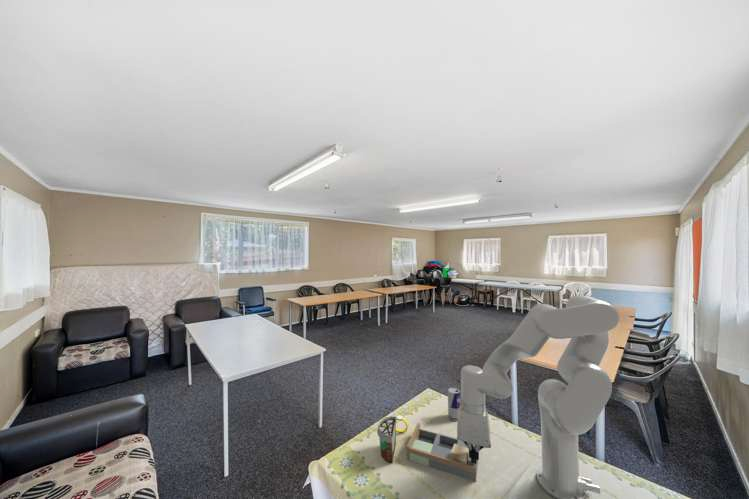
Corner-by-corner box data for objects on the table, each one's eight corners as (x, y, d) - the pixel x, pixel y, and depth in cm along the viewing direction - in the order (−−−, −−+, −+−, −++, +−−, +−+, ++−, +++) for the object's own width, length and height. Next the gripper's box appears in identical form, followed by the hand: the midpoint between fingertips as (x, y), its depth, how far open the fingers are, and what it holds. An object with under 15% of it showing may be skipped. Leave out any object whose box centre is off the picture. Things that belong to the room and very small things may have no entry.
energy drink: (461, 422, 114) (460, 394, 114) (448, 420, 115) (448, 392, 115) (460, 414, 119) (459, 387, 119) (447, 413, 120) (447, 386, 120)
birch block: (469, 457, 91) (469, 448, 91) (465, 467, 87) (465, 458, 87) (454, 451, 93) (454, 443, 94) (450, 461, 89) (450, 452, 89)
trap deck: (478, 451, 97) (478, 438, 97) (476, 481, 84) (475, 467, 84) (417, 434, 107) (417, 423, 107) (406, 459, 94) (406, 446, 94)
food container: (380, 439, 104) (380, 414, 104) (396, 441, 103) (395, 415, 103) (374, 464, 92) (374, 435, 92) (392, 466, 91) (391, 437, 91)
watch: (393, 433, 108) (391, 418, 108) (394, 428, 111) (393, 414, 111) (407, 434, 106) (406, 419, 107) (408, 430, 109) (407, 415, 109)
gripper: (448, 406, 88) (449, 461, 88) (497, 417, 82) (498, 477, 82) (451, 394, 95) (452, 446, 95) (497, 404, 89) (498, 459, 89)
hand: (474, 460), depth 88 cm, fingers closed
